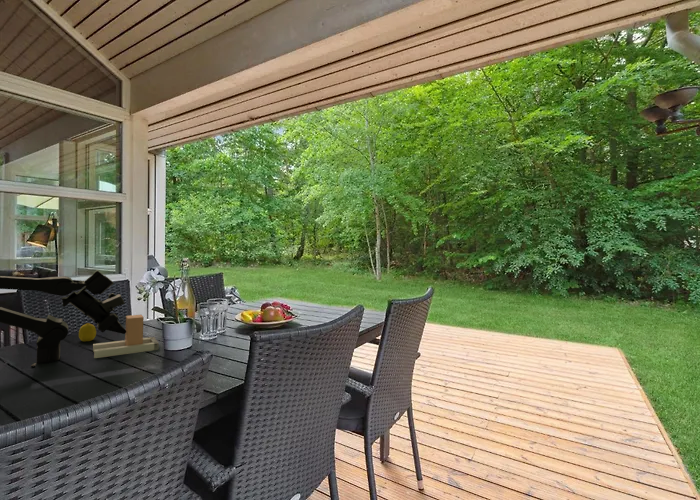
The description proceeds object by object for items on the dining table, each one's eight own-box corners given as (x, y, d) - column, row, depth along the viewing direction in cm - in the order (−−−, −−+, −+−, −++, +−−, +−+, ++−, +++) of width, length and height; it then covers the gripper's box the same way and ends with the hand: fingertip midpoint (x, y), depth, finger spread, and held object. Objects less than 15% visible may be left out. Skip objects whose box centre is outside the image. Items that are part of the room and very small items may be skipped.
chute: (94, 361, 120) (94, 351, 120) (92, 353, 128) (93, 344, 128) (158, 352, 132) (158, 343, 132) (153, 345, 140) (153, 336, 140)
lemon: (88, 345, 136) (89, 324, 136) (74, 345, 137) (75, 324, 136) (99, 341, 142) (99, 321, 142) (85, 340, 142) (86, 320, 142)
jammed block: (126, 351, 128) (127, 318, 128) (124, 348, 132) (125, 315, 132) (142, 349, 131) (143, 317, 131) (140, 346, 135) (141, 314, 135)
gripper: (111, 291, 118) (148, 320, 126) (106, 284, 133) (140, 311, 140) (80, 317, 114) (120, 346, 121) (79, 306, 129) (115, 333, 136)
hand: (125, 332), depth 130 cm, fingers closed, pressing on jammed block
